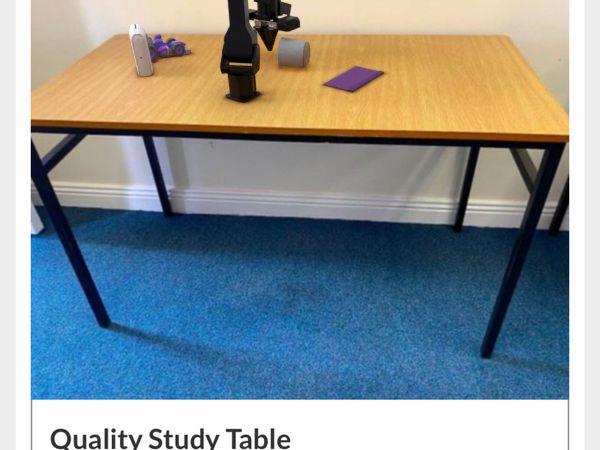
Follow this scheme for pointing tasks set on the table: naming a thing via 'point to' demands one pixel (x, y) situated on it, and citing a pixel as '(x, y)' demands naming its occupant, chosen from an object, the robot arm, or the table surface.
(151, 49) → the toy race car
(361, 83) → the cloth
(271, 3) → the robot arm
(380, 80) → the table surface
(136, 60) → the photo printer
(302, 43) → the ceramic mug
